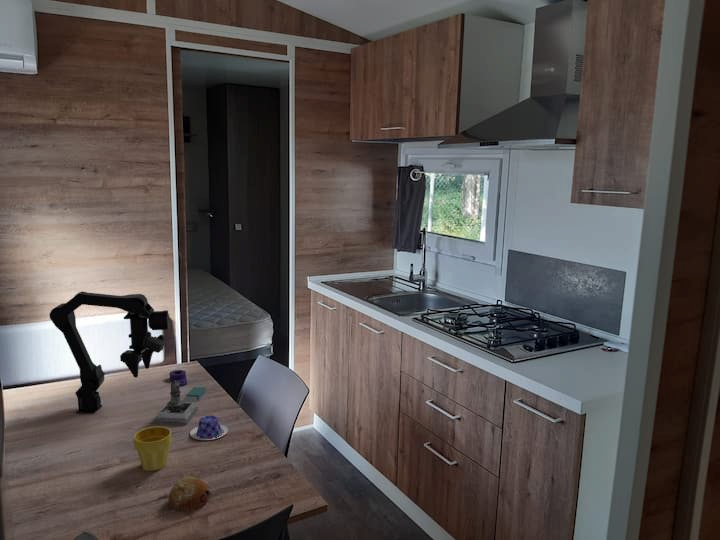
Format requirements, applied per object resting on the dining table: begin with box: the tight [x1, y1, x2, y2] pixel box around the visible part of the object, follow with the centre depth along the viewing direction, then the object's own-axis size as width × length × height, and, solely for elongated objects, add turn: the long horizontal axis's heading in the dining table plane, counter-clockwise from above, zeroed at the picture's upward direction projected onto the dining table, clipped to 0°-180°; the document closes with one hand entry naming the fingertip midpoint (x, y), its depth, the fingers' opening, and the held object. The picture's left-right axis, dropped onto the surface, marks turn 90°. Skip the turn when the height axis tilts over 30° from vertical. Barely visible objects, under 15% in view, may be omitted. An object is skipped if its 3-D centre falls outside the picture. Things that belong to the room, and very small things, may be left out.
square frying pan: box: [154, 386, 207, 425], centre depth 210 cm, size 11×29×4 cm, turn 176°
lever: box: [169, 369, 188, 387], centre depth 235 cm, size 12×6×3 cm, turn 30°
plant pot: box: [132, 425, 173, 472], centre depth 168 cm, size 10×10×10 cm
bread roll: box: [168, 475, 212, 512], centre depth 151 cm, size 10×10×8 cm
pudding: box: [189, 415, 229, 441], centre depth 190 cm, size 12×12×5 cm
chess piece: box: [167, 380, 185, 413], centre depth 201 cm, size 6×6×12 cm
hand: (141, 372), depth 207 cm, fingers open, 9 cm apart
